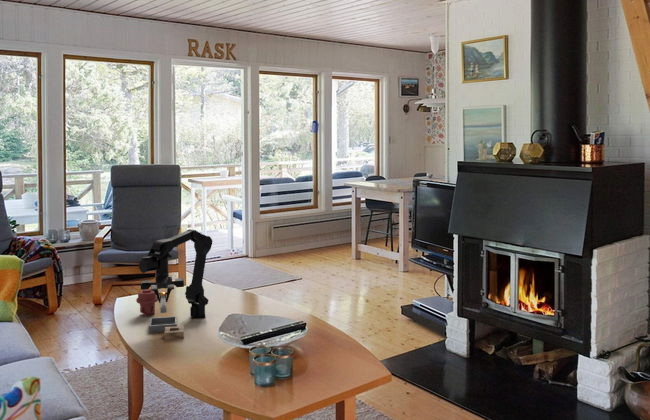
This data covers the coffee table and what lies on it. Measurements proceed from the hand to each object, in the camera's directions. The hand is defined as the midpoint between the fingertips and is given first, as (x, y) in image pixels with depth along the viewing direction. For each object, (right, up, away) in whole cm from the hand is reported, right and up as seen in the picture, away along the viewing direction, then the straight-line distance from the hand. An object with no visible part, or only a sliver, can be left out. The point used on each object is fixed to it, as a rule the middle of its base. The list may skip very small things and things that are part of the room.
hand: (163, 302), depth 268 cm
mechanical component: (-13, -9, +21) cm, 27 cm away
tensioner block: (+7, -13, -9) cm, 18 cm away
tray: (0, -12, +2) cm, 12 cm away
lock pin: (0, -5, +1) cm, 4 cm away
